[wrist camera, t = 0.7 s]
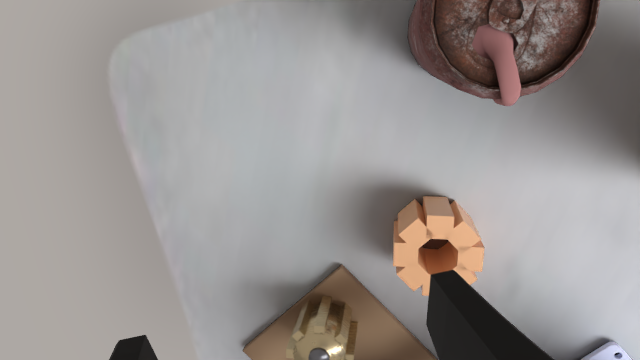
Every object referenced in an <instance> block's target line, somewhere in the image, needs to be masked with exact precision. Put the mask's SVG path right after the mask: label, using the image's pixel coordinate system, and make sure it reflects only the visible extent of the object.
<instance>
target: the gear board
mask: <svg viewBox="0 0 640 360" xmlns="http://www.w3.org/2000/svg"><path fill="white" fill-rule="evenodd" d="M323 296H332V303H334V304H337V305H339V306H340V307H341V306H342V305H344V304H345V303H347V304H348V305H349V306H350V307H351V308H352V315H351V321H354V322H358V332H357V340H356V348H355V356H354V360H438V359H437V358H436V357H435V356H434V355H433V354H432V353H431V352H430V351H429V350H428V349H427V348H426V347H424V346H423V345H422V344H421V343H420V342H419V341H418V340H417V339H416V338H415V337H414V336H413V335H412V334H411V333H410V332H409V331H408V330H407V329H406V328H405V327H404V326H403V325H402V324H401V323H400V322H399V321H398V320H397V319H396V318H395V317H394V316H393V315H392V314H391V313H390V312H389V311H388V310H387V309H386V308H385V307H384V306H383V305H382V304H381V303H380V302H379V301H378V300H377V299H376V298H375V297H374V296H373V295H372V294H371V293H370V292H369V291H368V290H367V289H366V288H365V287H364V286H363V285H362V284H361V283H360V282H359V281H358V280H357V279H356V278H355V277H354V276H353V275H352V274H351V273H350V272H349V271H348V270H347V269H346V268H345V267H344V266H343V265H340V266H339V267H338V268H337V269H336V270H335V271H333V272H332V273H331V274H330V275H329V276H327V277H326V278H325V279H324V280H323V281H322V282H320V283H319V284H318V285H317V286H316V287H314V288H313V289H312V290H311V291H310V292H309V293H307V294H306V295H305V296H304V297H303V298H301V299H300V300H299V301H298V302H297V303H296V304H294V305H293V306H292V307H291V308H290V309H288V310H287V311H286V312H285V313H284V314H283V315H281V316H280V317H279V318H278V319H277V320H275V321H274V322H273V323H272V324H271V325H270V326H268V327H267V328H266V329H265V330H264V331H262V332H261V333H260V334H259V335H258V336H257V337H255V338H254V339H253V340H252V341H251V342H250V343H248V344H247V345H246V346H245V347H244V349H243V352H244V353H245V354H247V355H248V356H249V357H250V358H251V359H252V360H294V359H293V358H286V347H287V345H288V342H289V339H290V336H291V333H292V331H293V328H294V325H295V322H296V320H297V317H299V315H300V312H301V309H302V306H303V305H304V304H305V303H306V302H307V301H308V300H310V301H311V302H312V303H313V304H314V305H315V304H317V303H321V300H322V297H323Z"/></svg>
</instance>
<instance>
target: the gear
mask: <svg viewBox="0 0 640 360" xmlns="http://www.w3.org/2000/svg"><path fill="white" fill-rule="evenodd" d="M351 315H352V308H351V307H350V306H349V305H348V304H347V303H345V304H344V305H342V306H341V307H340V306H339V305H337V304H334V303H332V296H323V297H322V300H321V303H317V304H315V305H314V304H313V303H312V302H311V301H310V300H308V301H307V302H306V303H305V304H304V305H303V306H302V309H301V312H300V315H299V317H297V320H296V322H295V325H294V328H293V331H292V333H291V336H290V339H289V342H288V345H287V347H286V358H293V359H294V360H354V356H355V348H356V340H357V332H358V322H354V321H351Z"/></svg>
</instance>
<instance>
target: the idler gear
mask: <svg viewBox="0 0 640 360" xmlns="http://www.w3.org/2000/svg"><path fill="white" fill-rule="evenodd" d="M430 239H446V240H448V241H449V242H447V243H446V244H445V245H444V246H442V247H441V248H440V249H424V248H423V247H422V245H424V244H425V243H426V242H427V241H429V240H430ZM483 256H484V246H483V244H482V242H481V238H480V235H479V233H478V231H477V229H476V227H475V225H474V223H473V221H472V219H471V217H470V216H469V215H468V214H467V213H466V212H465V211H464V210H463V208H462V207H461V206H460V205H459V204H458V203H457V202H456V201H454V202H452V203H451V204H449V201H448V199H447V197H435V196H423V205H422V206H421V205H420V204H419V203H418V201H417V200H416V199H414V200H413V201H412V202H410V203H409V204H408V205H407V206H406V207H405V208H403V209H402V210H401V211H400V212H399V213H398V221H394V234H393V266H396V272H397V275H398V276H399V277H400V278H401V279H402V280H403V281H404V282H405V283H406V284H407V285H408V286H409V287H410V288H411V289H412V290H413V291H415V290H416V289H418V288H419V287H420V286H421V289H422V295H425V296H429V288H430V276H431V274H435V273H440V272H444V271H449V270H454V271H456V272H457V273H458V274H459V275H460V276H461V277H462V278H463V279H464V280H465V281H466V282H467V283H468V284H469V285H471V284H472V283H473V282H475V281H476V280H477V277H476V275H475V272H474V271H478V272H482V266H483Z"/></svg>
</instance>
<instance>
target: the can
mask: <svg viewBox="0 0 640 360" xmlns="http://www.w3.org/2000/svg"><path fill="white" fill-rule="evenodd" d="M599 4H600V0H417V2H416V4H415V6H414V9H413V11H412V14H411V16H410V19H409V24H408V41H409V45H410V49H411V53H412V54H413V56H414V58H415V59H416V61H417V62H418V64H419V65H420V66H421V67H422V68H423V69H424V70H426V71H427V72H428V73H429V74H431V75H432V76H434V77H436V78H438V79H440V80H442V81H443V82H445V83H447V84H449V85H451V86H453V87H455V88H456V89H459V90H461V91H464V92H467V93H469V94H472V95H475V96H477V97H480V98H489V99H493V100H494V101H495V103H497V104H500V105H504V106H511V105H513V104H514V103H515V102H516V101H517V99H518V98H519V96H523V95H527V94H531V93H535V92H537V91H539V90H540V89H542V88H544V87H545V86H547V85H549V84H550V83H552V82H554V81H555V80H557V79H559V78H560V77H562V76H563V74H564V73H565V72H566V71H567V70H568V69H569V68H570V67H571V66H572V65H573V64H574V63H575V62H576V61H577V60H578V59H579V57H580V56H581V55H582V53H583V51H584V49H585V47H586V46H587V44H588V42H589V40H590V38H591V36H592V34H593V32H594V30H595V27H596V21H597V16H598V10H599Z"/></svg>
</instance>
